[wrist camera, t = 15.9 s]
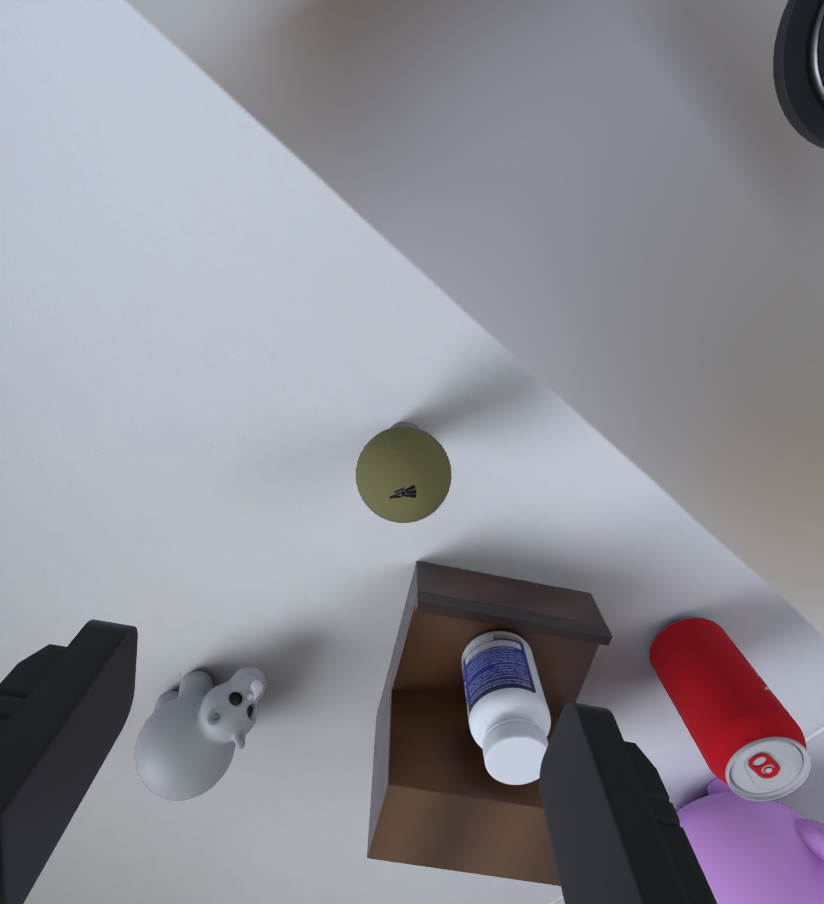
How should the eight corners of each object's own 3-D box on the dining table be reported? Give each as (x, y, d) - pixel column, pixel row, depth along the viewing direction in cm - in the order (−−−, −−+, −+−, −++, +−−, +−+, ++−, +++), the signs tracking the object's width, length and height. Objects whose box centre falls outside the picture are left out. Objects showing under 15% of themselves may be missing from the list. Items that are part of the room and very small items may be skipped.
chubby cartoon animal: (307, 672, 48) (287, 759, 41) (209, 743, 51) (172, 838, 43) (244, 617, 46) (210, 698, 39) (145, 694, 49) (94, 784, 41)
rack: (591, 593, 46) (649, 712, 35) (532, 743, 51) (566, 887, 40) (416, 560, 45) (419, 673, 33) (376, 717, 50) (366, 858, 39)
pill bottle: (446, 656, 43) (455, 759, 35) (501, 615, 42) (524, 713, 33) (492, 697, 44) (511, 805, 36) (547, 659, 43) (580, 763, 35)
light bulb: (414, 379, 39) (416, 427, 30) (459, 442, 41) (474, 507, 32) (348, 424, 41) (330, 484, 31) (395, 484, 42) (391, 558, 33)
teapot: (767, 716, 50) (875, 864, 39) (856, 796, 54) (979, 953, 42) (591, 835, 56) (639, 996, 44) (682, 900, 59) (749, 1066, 48)
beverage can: (675, 685, 49) (753, 821, 38) (630, 643, 48) (698, 772, 36) (738, 643, 48) (839, 772, 36) (694, 597, 46) (786, 718, 35)
